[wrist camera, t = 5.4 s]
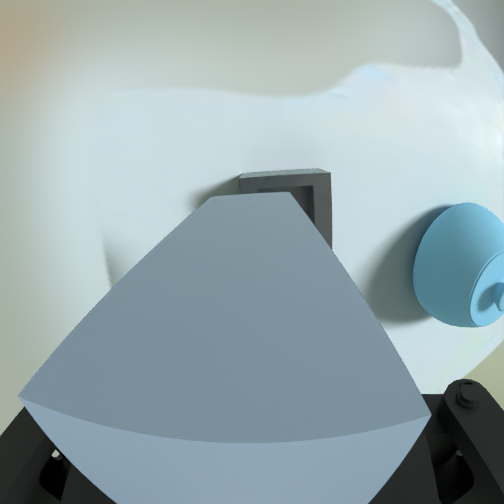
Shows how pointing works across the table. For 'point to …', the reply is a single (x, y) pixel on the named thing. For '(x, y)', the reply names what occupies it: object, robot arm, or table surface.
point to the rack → (298, 192)
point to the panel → (232, 371)
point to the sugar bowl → (462, 267)
